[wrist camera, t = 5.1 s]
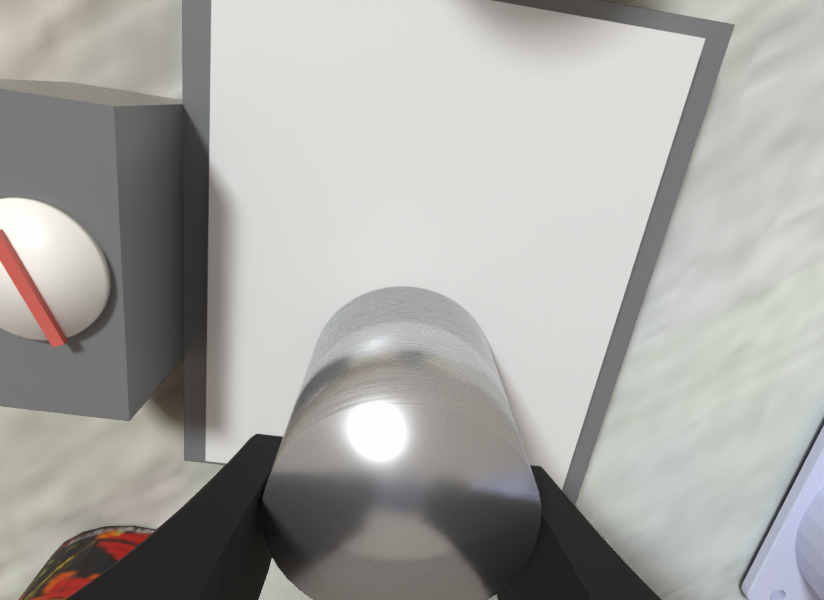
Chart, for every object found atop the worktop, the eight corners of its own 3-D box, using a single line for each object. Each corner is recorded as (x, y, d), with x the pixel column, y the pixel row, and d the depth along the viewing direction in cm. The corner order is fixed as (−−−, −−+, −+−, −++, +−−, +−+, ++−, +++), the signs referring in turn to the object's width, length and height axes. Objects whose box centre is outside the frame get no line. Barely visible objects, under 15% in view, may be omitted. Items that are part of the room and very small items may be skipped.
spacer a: (521, 323, 12) (592, 458, 8) (449, 464, 14) (472, 648, 9) (347, 258, 12) (310, 363, 7) (290, 413, 13) (229, 584, 9)
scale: (703, 31, 12) (859, -3, 8) (563, 476, 16) (615, 602, 12) (56, -84, 11) (-151, -193, 7) (94, 422, 15) (-17, 539, 11)
